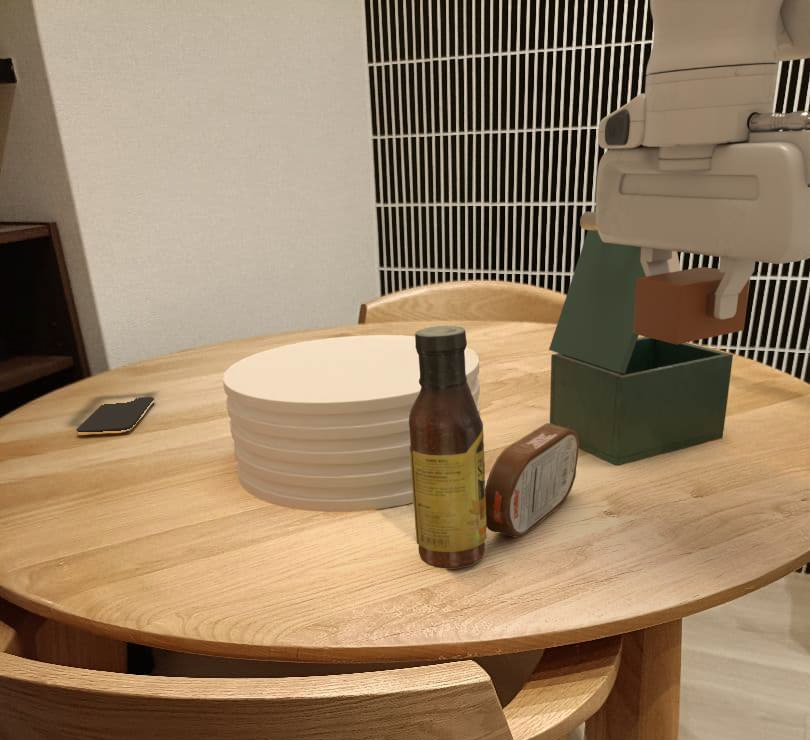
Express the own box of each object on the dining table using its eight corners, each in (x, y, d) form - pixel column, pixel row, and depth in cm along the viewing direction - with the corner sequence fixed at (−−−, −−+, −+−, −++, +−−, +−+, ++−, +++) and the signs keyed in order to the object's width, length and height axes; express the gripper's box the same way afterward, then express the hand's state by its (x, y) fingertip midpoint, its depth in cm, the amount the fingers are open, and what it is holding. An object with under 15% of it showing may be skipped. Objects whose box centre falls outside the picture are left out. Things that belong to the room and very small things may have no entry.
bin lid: (601, 206, 91) (569, 192, 89) (683, 212, 81) (648, 196, 78) (553, 351, 96) (521, 342, 93) (624, 374, 85) (590, 364, 83)
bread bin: (649, 410, 106) (655, 334, 101) (723, 437, 96) (733, 354, 91) (549, 434, 100) (551, 354, 96) (616, 465, 90) (621, 377, 85)
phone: (156, 396, 122) (129, 427, 108) (157, 401, 122) (130, 433, 109) (106, 399, 122) (73, 431, 108) (107, 405, 122) (74, 437, 109)
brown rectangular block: (698, 320, 69) (703, 266, 67) (744, 330, 65) (750, 273, 63) (632, 333, 67) (636, 278, 65) (676, 344, 63) (681, 285, 61)
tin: (554, 489, 85) (556, 410, 81) (582, 494, 83) (586, 415, 79) (479, 546, 74) (478, 459, 70) (510, 554, 72) (511, 465, 69)
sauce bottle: (497, 565, 71) (496, 334, 62) (429, 578, 69) (417, 344, 61) (471, 534, 76) (466, 318, 68) (407, 546, 75) (393, 327, 66)
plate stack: (450, 413, 109) (448, 326, 104) (510, 493, 84) (510, 384, 79) (239, 436, 106) (225, 347, 101) (236, 526, 81) (218, 415, 76)
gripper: (866, 105, 52) (830, 326, 58) (645, 119, 69) (636, 289, 75) (794, 111, 50) (764, 340, 56) (584, 124, 66) (579, 299, 72)
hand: (689, 311), depth 65 cm, fingers closed on brown rectangular block, 5 cm apart
